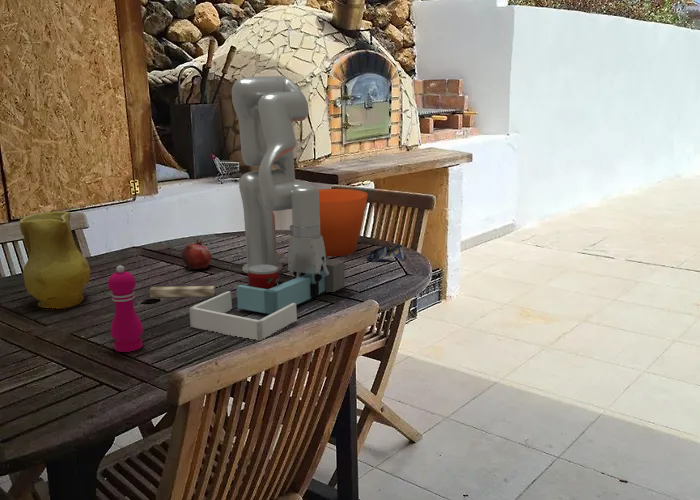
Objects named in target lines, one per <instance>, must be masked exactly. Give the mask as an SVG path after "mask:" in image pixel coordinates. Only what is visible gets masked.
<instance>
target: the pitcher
mask: <svg viewBox="0 0 700 500" xmlns="http://www.w3.org/2000/svg"><path fill="white" fill-rule="evenodd" d="M19 229H20V233H21V236H23V239H22V240H23V243H24V246H25V249H27V251H26V252H27V255H28V259H27V262H26V264H25V265H24V266H23V267H24V268H23V272H22V273H23V274H22V275H23V281H24V286H25V288H26V291H27V293H28V294H29V295H30V296H32V297H33V298H35V299H36V300H38V302H37V304H40V303H41V304H40V305H38V306H40V307H43V308H52V309H51V310H55V308H56V310H57V309H61V310H62V309H67V308H72V307H74V306H78V305H79V304H80V305H81V303H82V302H84V301H85V298H86V296H85V295H84V294H83V292H84V288H85V287H86V285H88V283H89V282H90V279H91V267H90V265H89V262H88V259H86V257H85V256H84V255H83V254H82V252H81V251H80V250H79V248H78V247H77V245H76V242H75V240H74V236H73V232H72V228H71V212H70V211H65V210H64V211H60V210H58V211H47V212H38V213H34V214H29V215H27V216H25V217H23V218H21V219H20V220H19ZM38 306H37V307H38ZM53 308H54V309H53Z"/></svg>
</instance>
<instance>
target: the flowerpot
mask: <svg viewBox="0 0 700 500" xmlns="http://www.w3.org/2000/svg"><path fill="white" fill-rule="evenodd" d="M318 190H319V206H320V236H322V237H323V241H324V246H325V254H326V256H331V257H330V258H336V257H335V256H340V257H345V256H344V255H347V256H349V255H348V254H350V255H352V254H351V253H353V254H354V252H355V251H357V249H358V248H357V247H358V242H359V237H360V233H361V228H362V224H363V219H364V214H365V210H366V206H367V205H366V204H367V200H368V197H369V193H368V192H366V191H363V190H358V189H351V188H322V189H321V188H320V189H319V188H318ZM355 253H356V252H355Z"/></svg>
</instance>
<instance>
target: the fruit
mask: <svg viewBox="0 0 700 500" xmlns="http://www.w3.org/2000/svg"><path fill="white" fill-rule="evenodd" d="M203 242H204V241H203V240H200V241H199V239H197V240H196V242H195V243H191V244H187V246H186V247H184V249H183V251H182V253H181V257H182V261H183V262H184V265H186V266H187V267H188V271H191V270H204V269H207V268H208V267H209V266H210V264H211V262H212V257H213V256H212V253H211V251H210V249H209V248H208V247H207V246H206V245H204V244H203Z"/></svg>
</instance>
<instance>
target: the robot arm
mask: <svg viewBox="0 0 700 500" xmlns="http://www.w3.org/2000/svg"><path fill="white" fill-rule="evenodd" d="M231 100H232V104H233V107H234V111H235V114H236V116H237V120H238V124H239V125H238V126H239V127H238V128H239V138H240V139H239V141H240V148H241V149H240V150H241V151H240V153H241V159H242V162H243V164H244V165H246V166H249V167H258V168H259V169H258V170H253V171H248V172H246V173H244V174H243V175H241V177H240V178H239V182H238V185H239V188H238V189H239V192H240V197H241V202H242V207H243V217H244V218H243V219H244V237H245V252H246V264H244V265H243V266H242V267H241V268H242V272H243V273H245V274H247V275H248V268H249V267H251V266H255V265H273V266H276V267H277V268H278V273H279V272H281V271H282V270H283V264H282V263H280V262H279V260H281V259H283V258H285V253H284V252H283V251H280V252H277V250H278V249H277V235H276V232H277V230H276V216H275V213H274V212H277V211H286V210H287V211H288V210H291V221H292V222H291V223H292V224H291V225H289V230H290V231H292V235H290V236H289V243H288V252H287V253H288V254H287V259H288V260H287V262H288V263H287V265H288V266H287V270H288V271H289V272H290V273H291V274H293V276H294V277H295V278H297V277H300V276H302V275H305V274H307V273H308V274H311V281H312V283H311V284H310V294H311V297H312V298H311V299H313V298H315V297H317V296H319V295H320V294H319V281H320V280H321V279H322V278H323V277H325V276H327V275H329V272H328V269H327V267H326V259H327V257H326V254H325V246H324V241H323V237H322V236H320V206H319V188H318V187H317V186H315V185H311V184H310V183H309V182H307V181H306V180H305V181H304V180H297V181H296V173H295V158H294V150H295V148H296V147H297V145H298V144H297V142H298V141H297V138H296V134H295V131H294V126H293V122H303V121H305V120H306V119H307V118H308V115H309V104H308V100H307V98H306V95H304V93H303V92H302V90H301V89H300V88H299V87H298V86H297V85H296V83H294V82H293V80H291V79H290V78H289V77H287V76H281V75H280V76H279V75H276V76H275V75H274V76H247V77H241V78H239V79H236V80H235V81H234V83H233V85H232V87H231ZM274 165H275V168H274V169H272V168H273V166H274ZM320 271H322V273H321V274H320ZM318 294H319V295H318Z"/></svg>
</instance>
